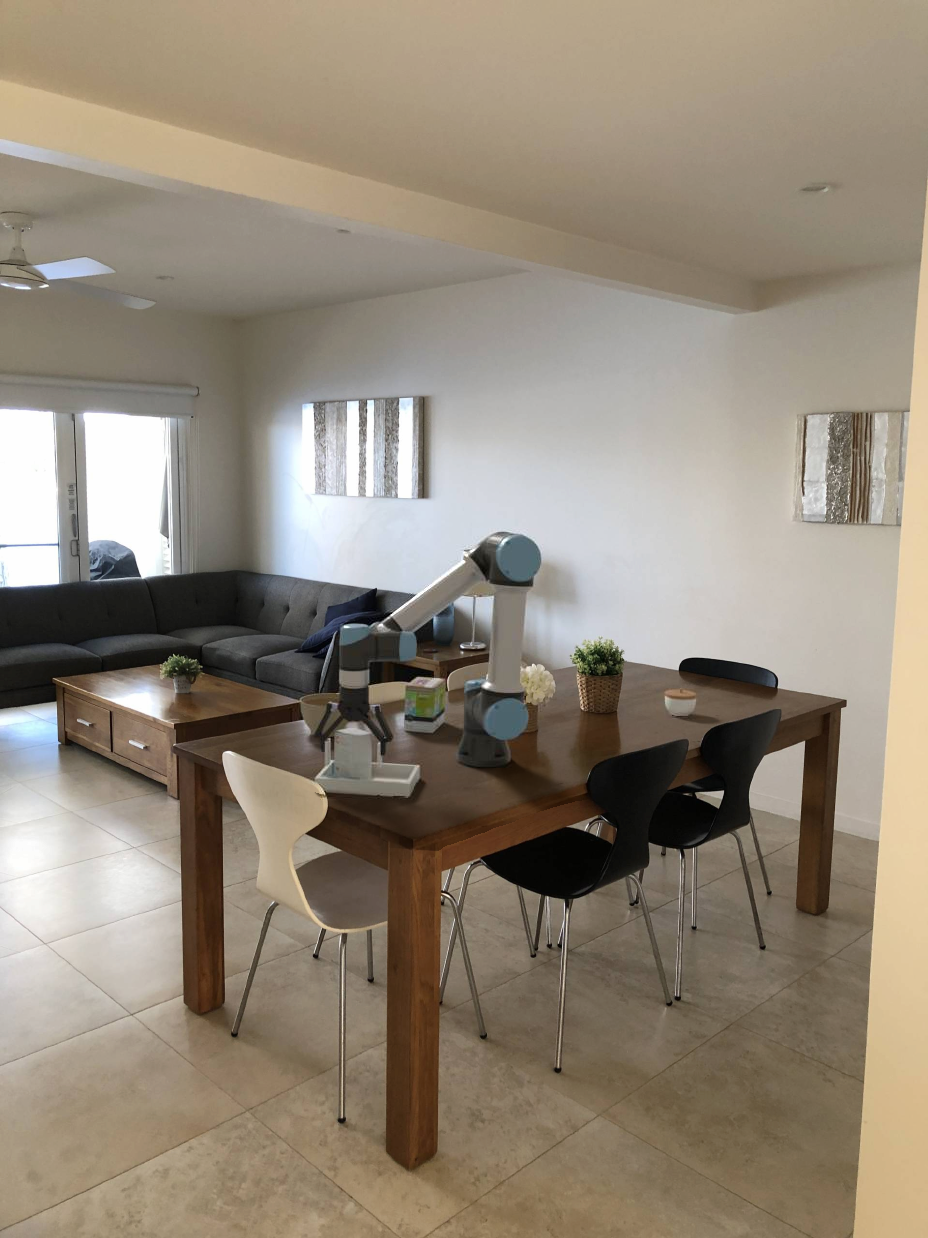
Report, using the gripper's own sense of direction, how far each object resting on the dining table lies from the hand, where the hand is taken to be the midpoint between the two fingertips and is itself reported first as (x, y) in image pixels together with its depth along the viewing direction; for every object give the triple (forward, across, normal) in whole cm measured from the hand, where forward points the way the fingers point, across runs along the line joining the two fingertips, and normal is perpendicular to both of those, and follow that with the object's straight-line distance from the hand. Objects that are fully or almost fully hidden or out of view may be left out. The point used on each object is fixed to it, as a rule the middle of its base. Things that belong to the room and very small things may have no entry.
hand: (353, 766), depth 253 cm
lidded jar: (+5, -92, -95) cm, 132 cm away
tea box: (+5, -9, -61) cm, 62 cm away
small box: (+4, 0, 0) cm, 4 cm away
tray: (+5, -4, 0) cm, 6 cm away
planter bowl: (+5, +19, -46) cm, 50 cm away
